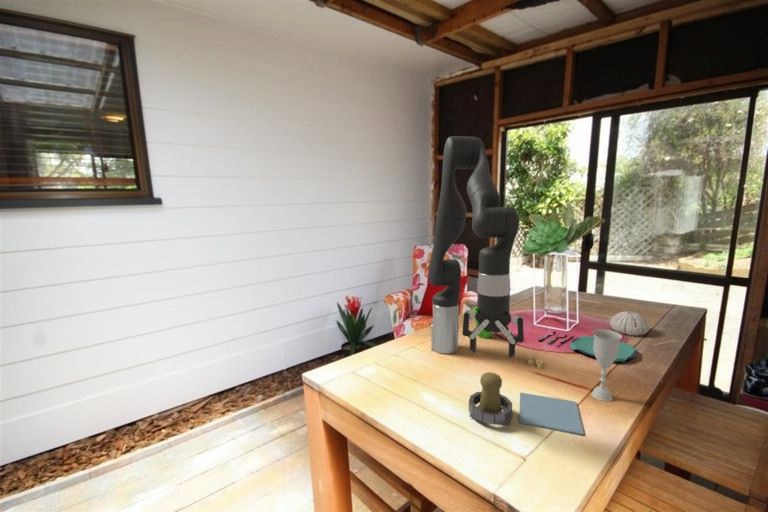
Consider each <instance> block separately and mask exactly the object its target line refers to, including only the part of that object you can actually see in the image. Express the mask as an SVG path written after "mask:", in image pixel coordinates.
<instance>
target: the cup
mask: <svg viewBox="0 0 768 512" xmlns="http://www.w3.org/2000/svg"><path fill="white" fill-rule="evenodd" d="M472 310H473V313H476V312H477V306H474V307H473V308H472ZM474 321H475V327H476V326H477V325H478V324H479V323H478V322H477V320H476V319H475V318H474ZM492 333H493V332H486V331H485V330H482V331H481V332H480V333H479V334H478V335H477V337H479V338H480V339H489V338H490V337H491V336H492Z"/></svg>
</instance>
